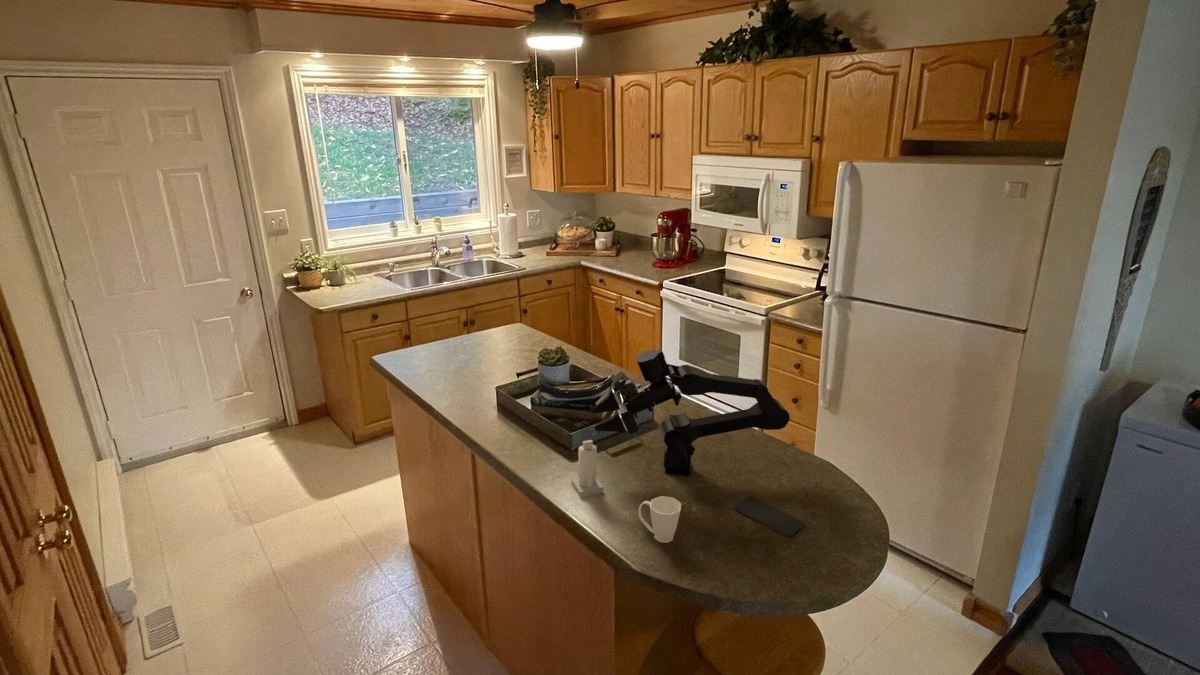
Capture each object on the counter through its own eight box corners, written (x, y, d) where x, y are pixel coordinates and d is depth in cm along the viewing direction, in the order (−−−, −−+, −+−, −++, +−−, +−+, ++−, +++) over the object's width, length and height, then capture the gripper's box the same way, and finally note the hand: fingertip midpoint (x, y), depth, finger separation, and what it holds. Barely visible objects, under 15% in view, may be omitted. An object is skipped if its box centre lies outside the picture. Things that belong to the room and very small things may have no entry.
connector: (594, 479, 158) (594, 433, 154) (603, 492, 153) (604, 444, 149) (571, 484, 156) (571, 437, 152) (580, 497, 151) (580, 449, 146)
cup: (670, 551, 133) (672, 518, 130) (630, 534, 138) (631, 502, 135) (685, 534, 138) (687, 502, 135) (646, 518, 143) (647, 487, 141)
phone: (790, 537, 137) (731, 507, 147) (789, 540, 137) (731, 510, 147) (806, 522, 142) (749, 494, 152) (806, 525, 142) (748, 497, 152)
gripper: (633, 354, 162) (577, 378, 162) (645, 383, 144) (582, 410, 145) (648, 389, 165) (594, 413, 166) (662, 422, 148) (601, 448, 149)
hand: (593, 420), depth 156 cm, fingers open, 9 cm apart
